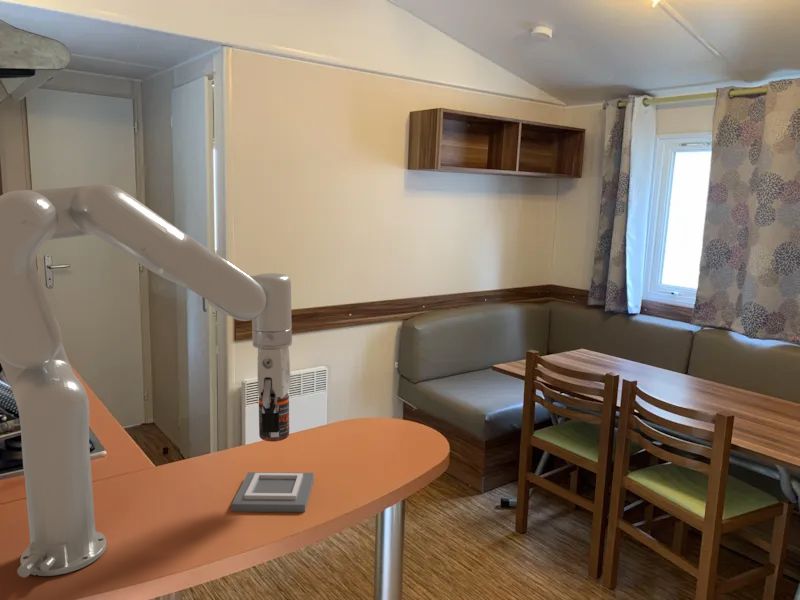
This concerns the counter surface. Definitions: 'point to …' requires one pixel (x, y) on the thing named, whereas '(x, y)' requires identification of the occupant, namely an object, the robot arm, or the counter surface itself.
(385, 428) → the counter surface
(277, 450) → the counter surface
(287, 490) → the socket plate
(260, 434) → the supplement bottle
